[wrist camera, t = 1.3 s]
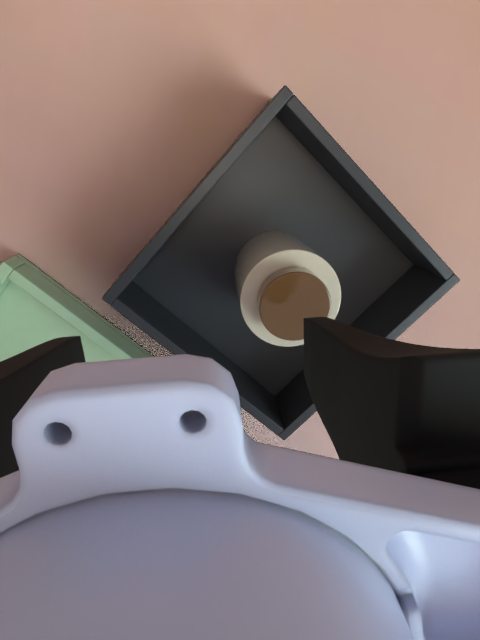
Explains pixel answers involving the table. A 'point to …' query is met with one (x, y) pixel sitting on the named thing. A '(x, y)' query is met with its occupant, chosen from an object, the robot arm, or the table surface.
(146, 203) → the table surface
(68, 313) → the tray
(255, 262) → the spice jar
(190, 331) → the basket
